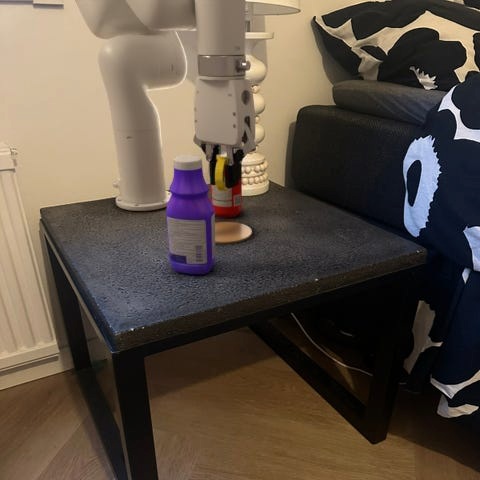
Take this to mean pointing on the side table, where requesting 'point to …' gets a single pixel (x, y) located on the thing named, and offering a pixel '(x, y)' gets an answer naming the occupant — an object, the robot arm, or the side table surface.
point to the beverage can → (227, 197)
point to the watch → (220, 171)
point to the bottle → (190, 218)
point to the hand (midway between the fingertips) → (224, 184)
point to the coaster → (231, 232)
